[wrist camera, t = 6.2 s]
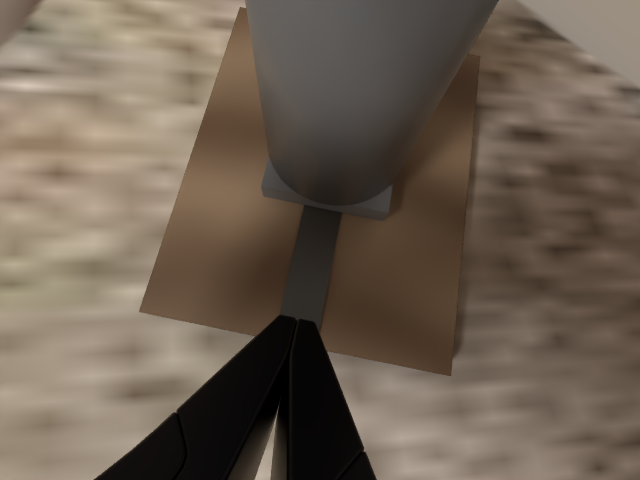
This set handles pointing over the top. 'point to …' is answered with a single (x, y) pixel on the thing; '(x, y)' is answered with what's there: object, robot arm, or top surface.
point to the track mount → (318, 234)
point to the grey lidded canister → (352, 91)
